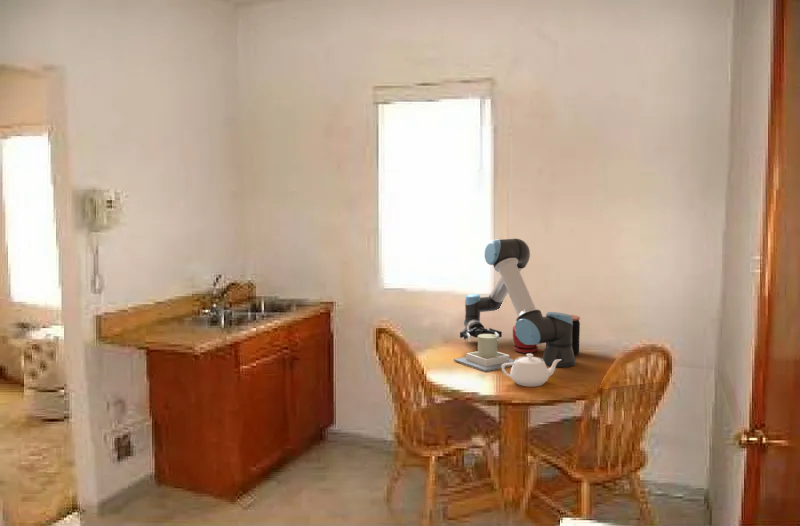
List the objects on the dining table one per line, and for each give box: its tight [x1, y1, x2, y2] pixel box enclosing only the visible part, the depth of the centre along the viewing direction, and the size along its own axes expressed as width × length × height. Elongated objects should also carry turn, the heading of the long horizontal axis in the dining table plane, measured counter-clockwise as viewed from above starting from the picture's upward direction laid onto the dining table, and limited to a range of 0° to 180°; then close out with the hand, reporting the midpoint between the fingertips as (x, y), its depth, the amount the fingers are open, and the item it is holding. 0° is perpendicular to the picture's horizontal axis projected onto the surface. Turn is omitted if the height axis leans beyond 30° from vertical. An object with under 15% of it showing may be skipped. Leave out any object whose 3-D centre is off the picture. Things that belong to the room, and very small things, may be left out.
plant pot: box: [512, 325, 539, 354], centre depth 322 cm, size 13×13×12 cm
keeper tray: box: [453, 350, 516, 373], centre depth 301 cm, size 22×22×4 cm
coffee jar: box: [569, 314, 581, 356], centre depth 316 cm, size 11×11×18 cm
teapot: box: [501, 353, 562, 387], centre depth 269 cm, size 25×16×12 cm, turn 93°
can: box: [477, 334, 498, 359], centre depth 301 cm, size 9×9×12 cm
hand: (484, 338), depth 308 cm, fingers open, 13 cm apart
